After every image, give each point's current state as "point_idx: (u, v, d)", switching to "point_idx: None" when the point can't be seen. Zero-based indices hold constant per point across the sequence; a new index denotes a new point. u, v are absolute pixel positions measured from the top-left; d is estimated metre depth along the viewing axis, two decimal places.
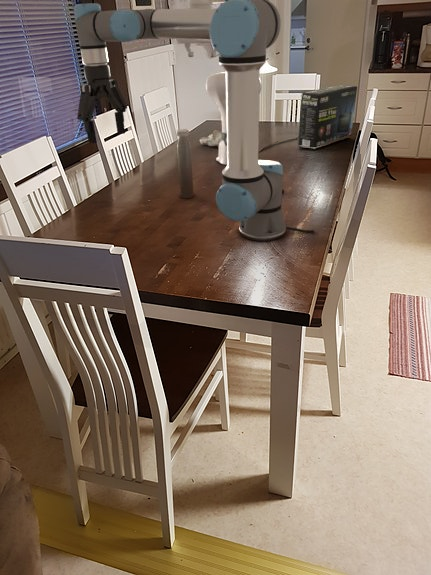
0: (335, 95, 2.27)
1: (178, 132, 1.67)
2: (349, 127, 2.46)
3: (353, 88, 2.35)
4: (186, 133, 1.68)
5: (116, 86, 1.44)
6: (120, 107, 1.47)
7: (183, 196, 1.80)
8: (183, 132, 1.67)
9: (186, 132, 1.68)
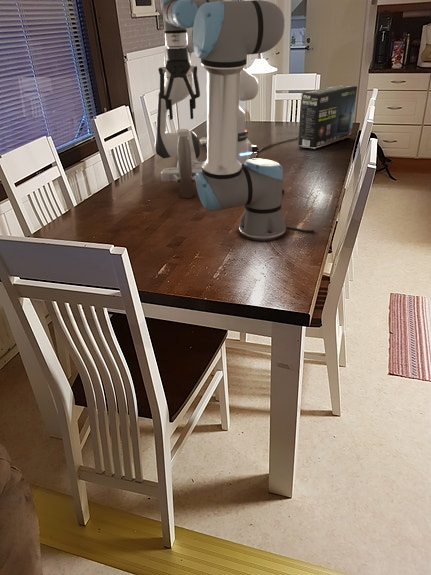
0: (335, 95, 2.27)
1: (178, 132, 1.67)
2: (349, 127, 2.46)
3: (353, 88, 2.35)
4: (186, 133, 1.68)
5: None
6: None
7: (183, 196, 1.80)
8: (183, 132, 1.67)
9: (186, 132, 1.68)
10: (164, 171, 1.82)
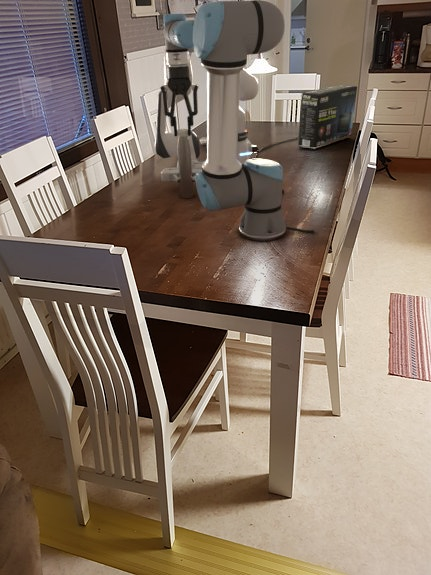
0: (335, 95, 2.27)
1: (178, 132, 1.67)
2: (349, 127, 2.46)
3: (353, 88, 2.35)
4: (186, 133, 1.68)
5: None
6: None
7: (183, 196, 1.80)
8: (183, 132, 1.67)
9: (186, 132, 1.68)
10: (164, 171, 1.82)
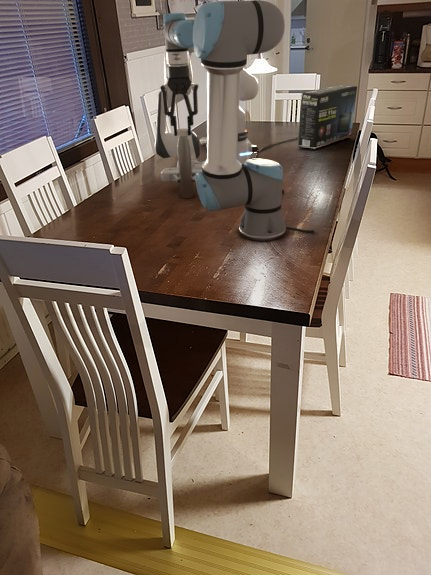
0: (335, 95, 2.27)
1: None
2: (349, 127, 2.46)
3: (353, 88, 2.35)
4: None
5: None
6: None
7: (183, 196, 1.80)
8: None
9: None
10: (164, 171, 1.82)
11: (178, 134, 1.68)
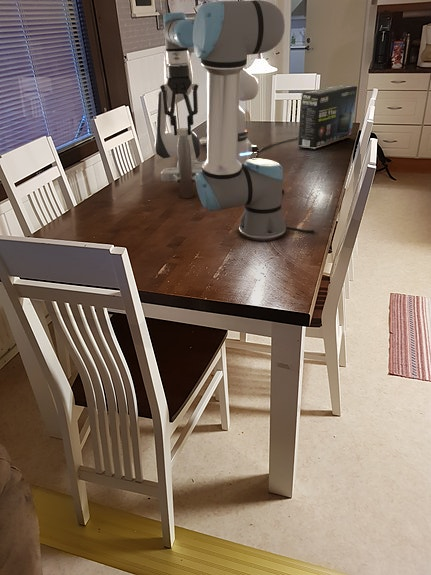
0: (335, 95, 2.27)
1: None
2: (349, 127, 2.46)
3: (353, 88, 2.35)
4: (177, 132, 1.68)
5: None
6: None
7: (183, 196, 1.80)
8: (176, 130, 1.69)
9: (177, 131, 1.68)
10: (164, 171, 1.82)
11: None
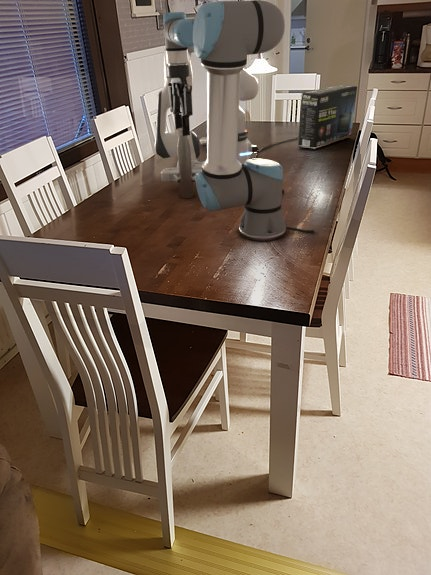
0: (335, 95, 2.27)
1: (181, 131, 1.67)
2: (349, 127, 2.46)
3: (353, 88, 2.35)
4: None
5: (184, 92, 1.57)
6: (182, 111, 1.62)
7: (183, 196, 1.80)
8: None
9: None
10: (164, 171, 1.82)
11: None
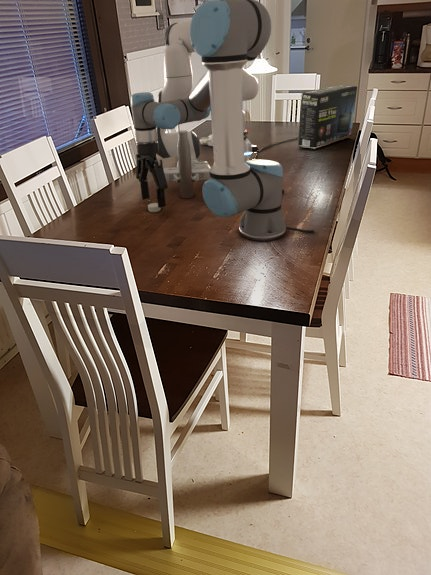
0: (335, 95, 2.27)
1: (153, 208, 1.68)
2: (349, 127, 2.46)
3: (353, 88, 2.35)
4: None
5: (155, 166, 1.56)
6: (157, 185, 1.60)
7: (183, 196, 1.80)
8: (158, 207, 1.68)
9: None
10: (164, 171, 1.82)
11: None
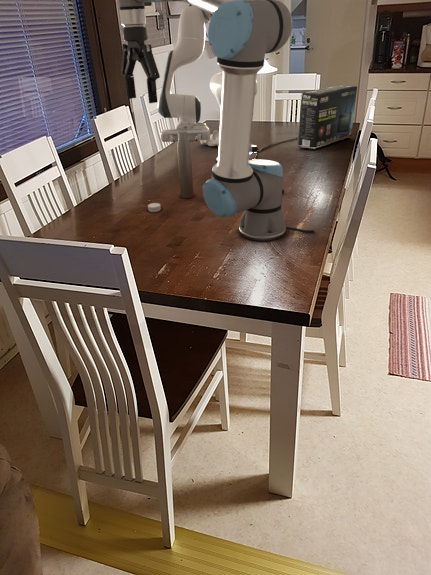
0: (335, 95, 2.27)
1: (153, 208, 1.68)
2: (349, 127, 2.46)
3: (353, 88, 2.35)
4: None
5: (144, 52, 1.38)
6: (147, 75, 1.41)
7: (183, 196, 1.80)
8: (158, 207, 1.68)
9: None
10: (164, 132, 1.88)
11: None
